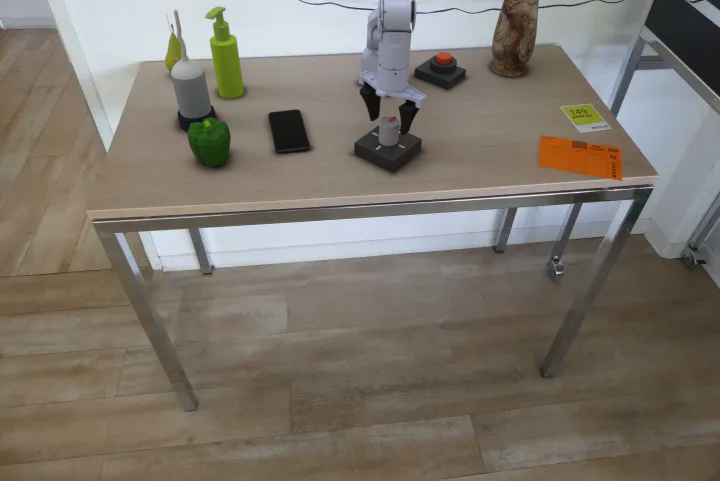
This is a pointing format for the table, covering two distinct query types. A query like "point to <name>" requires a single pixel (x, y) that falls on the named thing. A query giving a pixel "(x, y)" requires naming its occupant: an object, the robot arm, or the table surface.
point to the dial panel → (387, 150)
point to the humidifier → (190, 87)
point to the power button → (443, 58)
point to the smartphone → (288, 131)
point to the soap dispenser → (225, 56)
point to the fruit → (170, 56)
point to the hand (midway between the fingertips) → (389, 125)
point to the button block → (440, 73)
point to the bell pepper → (210, 141)
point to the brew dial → (389, 131)
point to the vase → (514, 36)
